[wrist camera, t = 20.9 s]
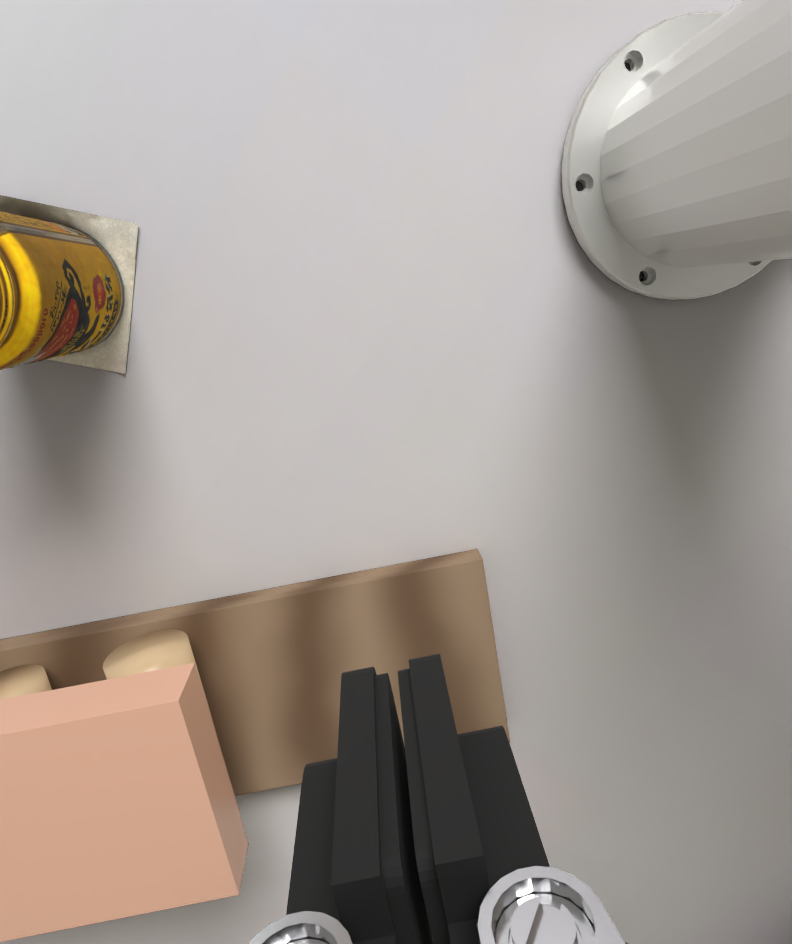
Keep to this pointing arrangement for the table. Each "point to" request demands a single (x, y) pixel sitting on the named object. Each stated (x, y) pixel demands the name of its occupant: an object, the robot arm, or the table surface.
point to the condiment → (64, 286)
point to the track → (304, 656)
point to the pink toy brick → (115, 795)
